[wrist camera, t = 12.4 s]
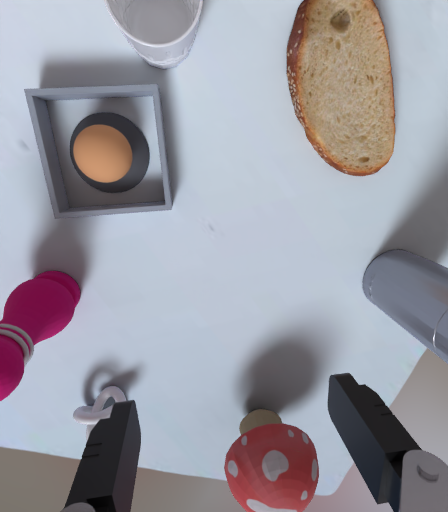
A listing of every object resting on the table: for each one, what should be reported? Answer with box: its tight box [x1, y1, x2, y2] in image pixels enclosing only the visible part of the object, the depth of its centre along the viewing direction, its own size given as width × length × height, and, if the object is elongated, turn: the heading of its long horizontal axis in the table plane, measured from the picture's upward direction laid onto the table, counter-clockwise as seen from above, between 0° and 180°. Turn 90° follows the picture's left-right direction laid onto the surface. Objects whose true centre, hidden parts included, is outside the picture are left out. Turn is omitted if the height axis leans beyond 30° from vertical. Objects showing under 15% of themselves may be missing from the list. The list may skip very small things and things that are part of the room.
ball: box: [73, 125, 132, 183], centre depth 34 cm, size 6×6×6 cm
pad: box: [70, 113, 149, 193], centre depth 37 cm, size 9×9×1 cm
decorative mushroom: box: [224, 409, 319, 512], centre depth 45 cm, size 13×13×15 cm
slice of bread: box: [287, 0, 395, 176], centre depth 36 cm, size 18×18×4 cm
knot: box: [73, 386, 127, 440], centre depth 45 cm, size 8×8×6 cm
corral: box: [24, 84, 172, 219], centre depth 35 cm, size 13×13×3 cm
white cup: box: [104, 0, 203, 69], centre depth 29 cm, size 8×8×10 cm
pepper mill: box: [0, 271, 80, 401], centre depth 32 cm, size 7×7×20 cm
